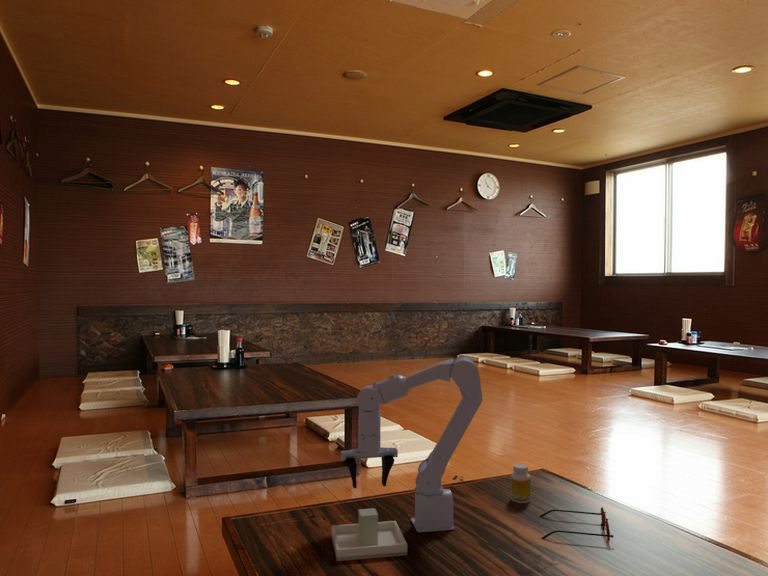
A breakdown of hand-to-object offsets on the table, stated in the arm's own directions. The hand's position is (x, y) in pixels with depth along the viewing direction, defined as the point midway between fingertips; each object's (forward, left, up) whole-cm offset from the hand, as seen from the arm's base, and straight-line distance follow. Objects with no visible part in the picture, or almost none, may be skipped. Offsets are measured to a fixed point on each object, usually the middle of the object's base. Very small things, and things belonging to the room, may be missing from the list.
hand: (369, 485), depth 149 cm
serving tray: (+2, +13, -9) cm, 16 cm away
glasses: (-50, +14, -10) cm, 52 cm away
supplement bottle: (-45, -7, -10) cm, 46 cm away
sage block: (+2, +13, -9) cm, 15 cm away
